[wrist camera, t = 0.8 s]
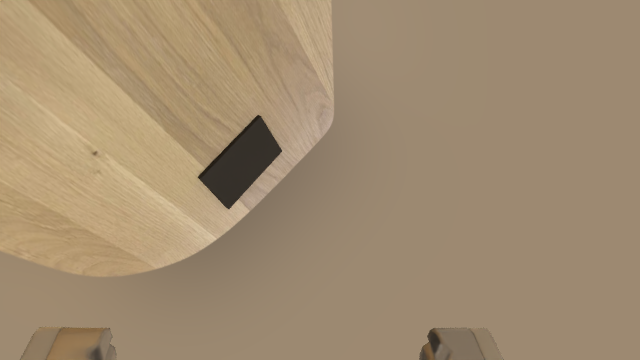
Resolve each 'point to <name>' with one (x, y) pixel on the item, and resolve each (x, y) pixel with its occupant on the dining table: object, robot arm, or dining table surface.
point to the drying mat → (241, 162)
